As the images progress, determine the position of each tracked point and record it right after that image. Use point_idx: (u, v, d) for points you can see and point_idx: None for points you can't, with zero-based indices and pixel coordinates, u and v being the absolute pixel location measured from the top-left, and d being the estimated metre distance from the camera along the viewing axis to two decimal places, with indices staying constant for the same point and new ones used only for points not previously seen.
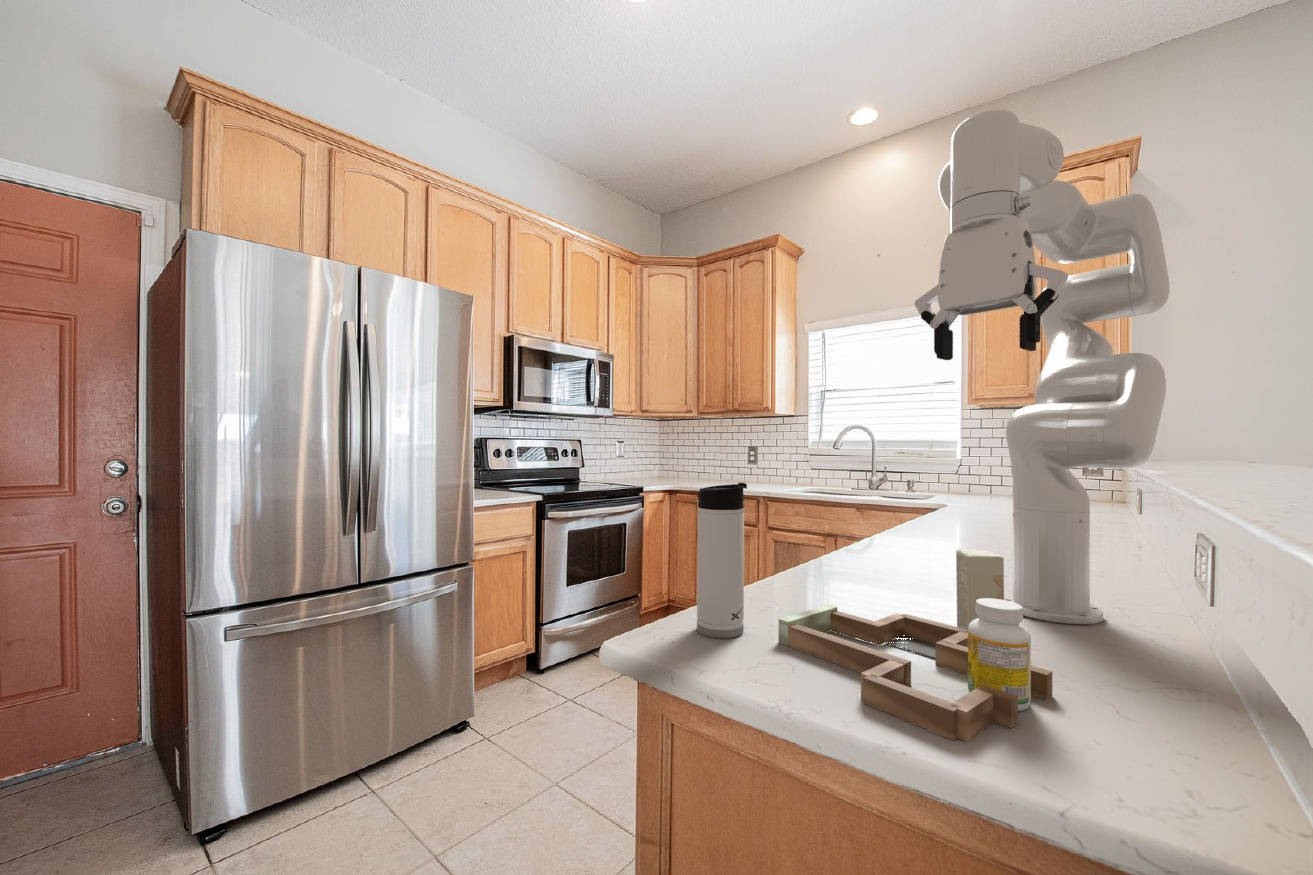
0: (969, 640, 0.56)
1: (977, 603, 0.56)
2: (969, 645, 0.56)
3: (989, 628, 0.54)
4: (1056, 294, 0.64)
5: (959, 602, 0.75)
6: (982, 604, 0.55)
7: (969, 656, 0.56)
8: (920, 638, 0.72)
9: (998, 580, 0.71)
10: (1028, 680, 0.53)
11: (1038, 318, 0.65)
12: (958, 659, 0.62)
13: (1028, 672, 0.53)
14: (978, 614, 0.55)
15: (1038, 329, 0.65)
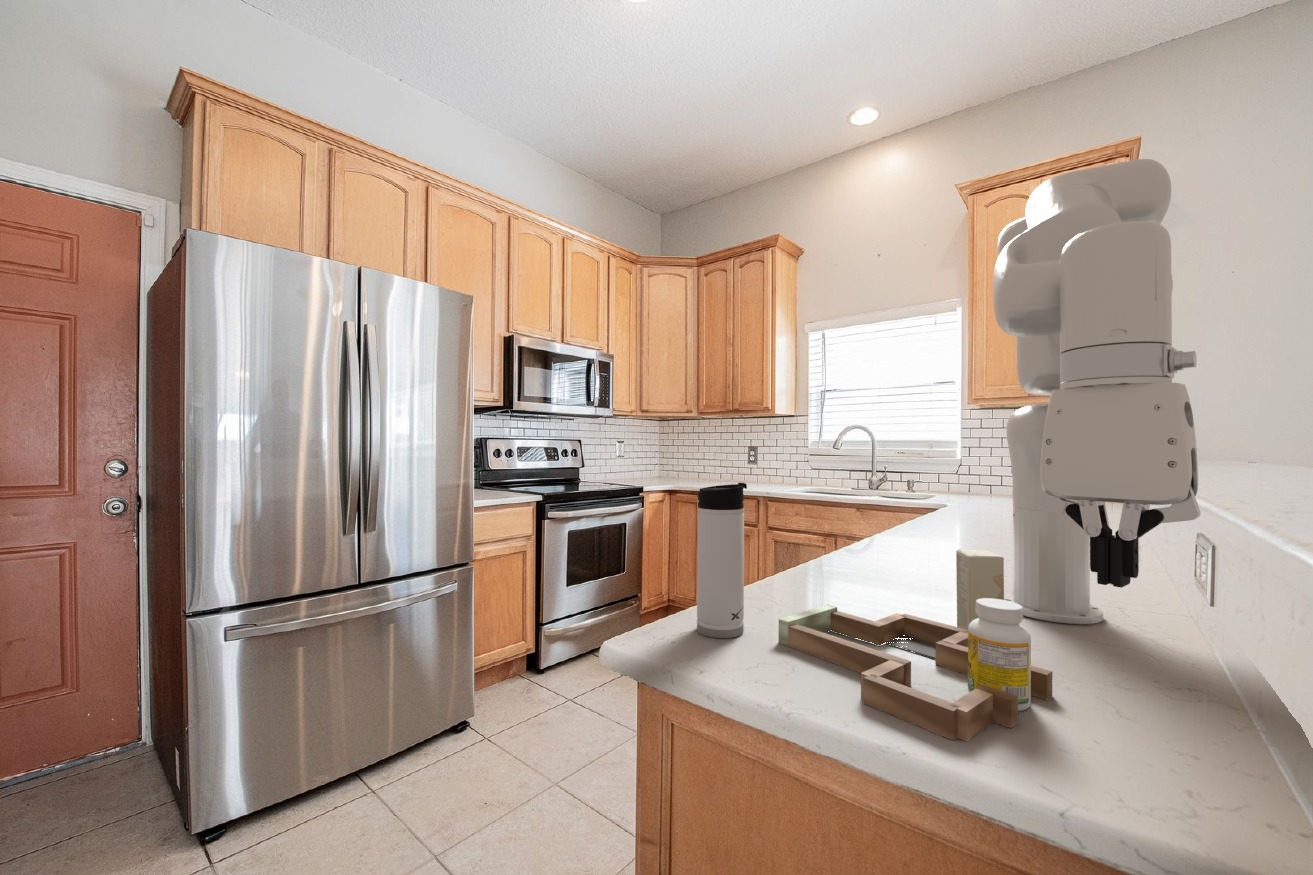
0: (969, 640, 0.56)
1: (977, 603, 0.56)
2: (969, 645, 0.56)
3: (990, 628, 0.54)
4: (1160, 523, 0.46)
5: (959, 602, 0.75)
6: (982, 604, 0.55)
7: (969, 656, 0.56)
8: (920, 638, 0.72)
9: (998, 580, 0.71)
10: (1028, 680, 0.53)
11: (1136, 543, 0.47)
12: (958, 659, 0.62)
13: (1028, 672, 0.53)
14: (978, 614, 0.55)
15: (1136, 559, 0.47)
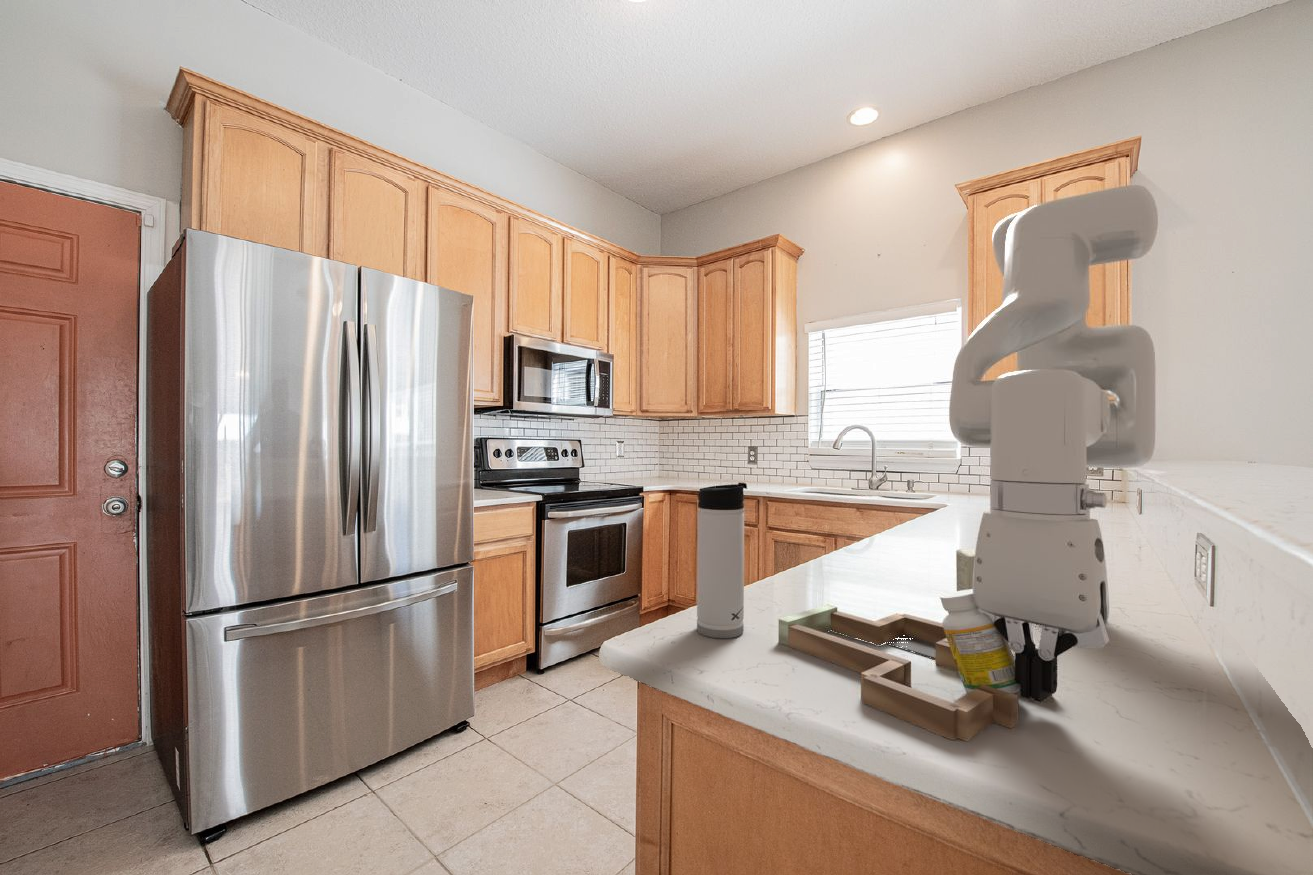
0: (947, 637, 0.57)
1: (941, 598, 0.58)
2: (948, 642, 0.57)
3: (958, 617, 0.56)
4: None
5: None
6: (944, 597, 0.57)
7: (952, 653, 0.57)
8: (920, 638, 0.72)
9: None
10: (1011, 659, 0.54)
11: (1055, 661, 0.51)
12: None
13: (1007, 651, 0.54)
14: (945, 608, 0.58)
15: (1055, 676, 0.51)
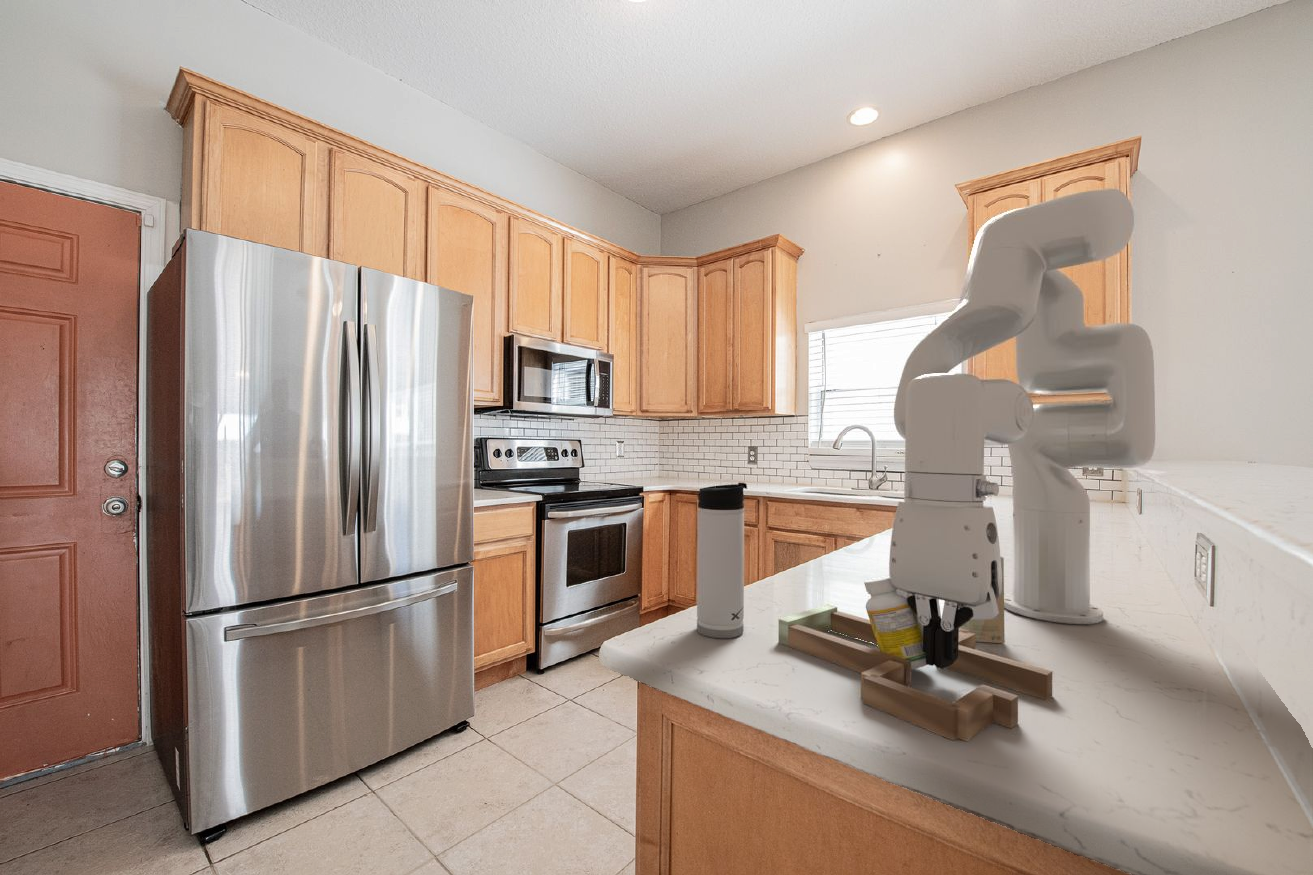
0: (869, 617, 0.64)
1: (864, 582, 0.64)
2: (870, 621, 0.64)
3: (877, 599, 0.62)
4: None
5: None
6: (867, 582, 0.64)
7: (873, 631, 0.63)
8: None
9: None
10: (922, 636, 0.60)
11: (956, 632, 0.58)
12: (958, 659, 0.62)
13: (919, 629, 0.61)
14: None
15: (955, 645, 0.58)
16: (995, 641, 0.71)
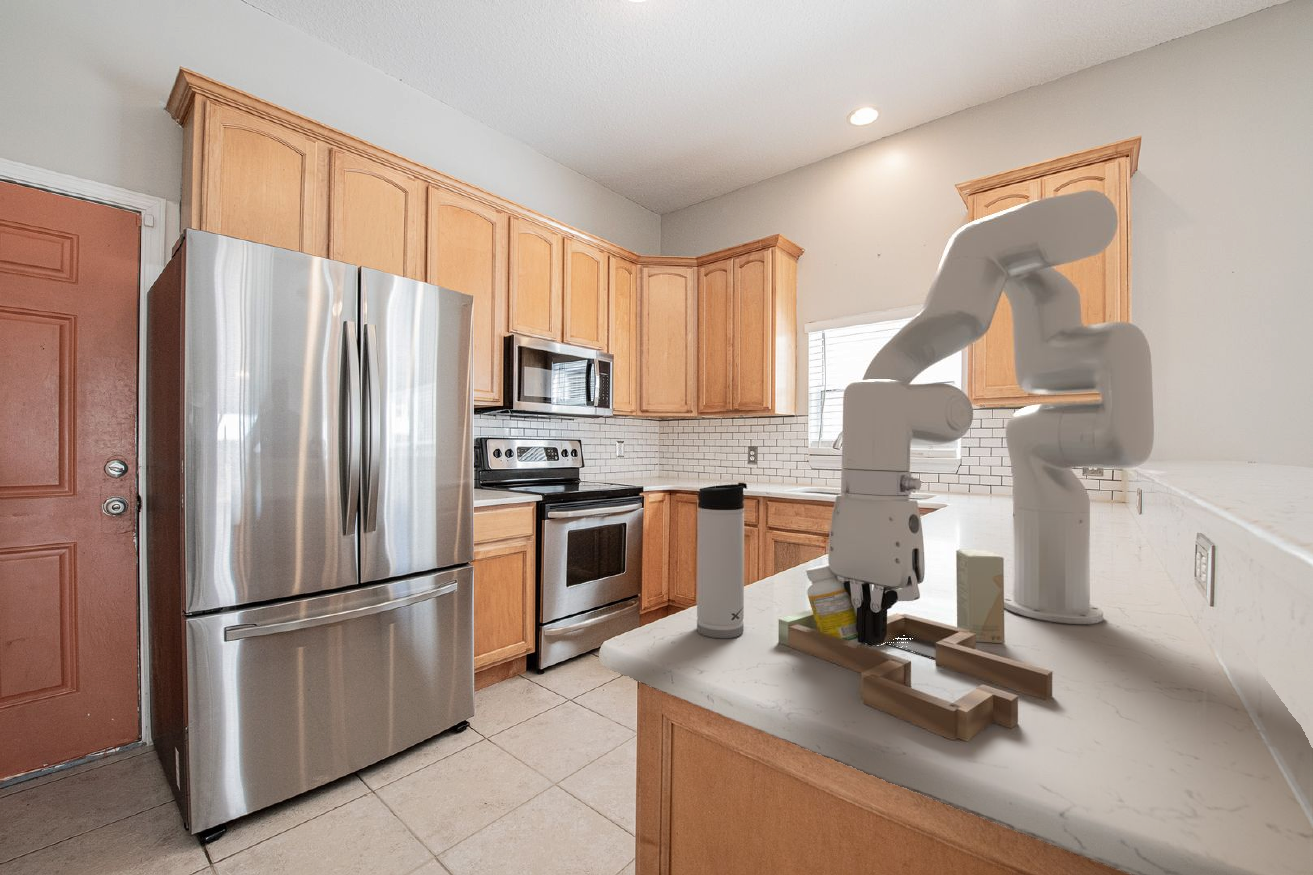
0: (810, 602, 0.69)
1: (806, 571, 0.70)
2: (811, 606, 0.69)
3: (817, 585, 0.68)
4: None
5: (959, 602, 0.75)
6: (809, 570, 0.69)
7: None
8: (920, 638, 0.72)
9: (998, 580, 0.71)
10: None
11: (884, 613, 0.64)
12: (958, 659, 0.62)
13: (854, 611, 0.67)
14: (809, 579, 0.70)
15: (884, 625, 0.64)
16: (995, 641, 0.71)
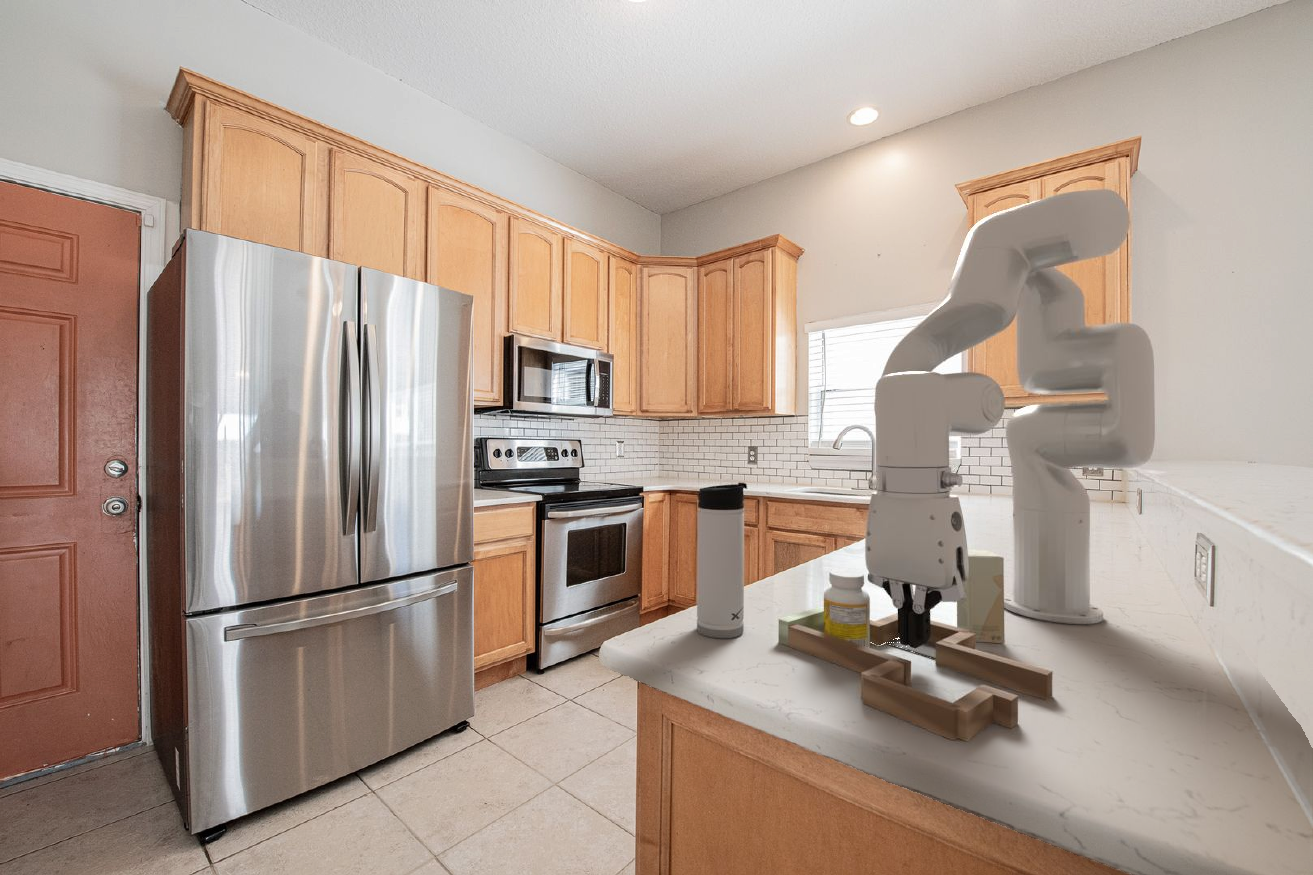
0: (824, 604, 0.68)
1: (830, 573, 0.68)
2: (824, 608, 0.68)
3: (838, 593, 0.66)
4: None
5: (959, 602, 0.75)
6: (833, 574, 0.67)
7: (824, 617, 0.68)
8: None
9: (998, 580, 0.71)
10: (867, 633, 0.66)
11: (928, 614, 0.62)
12: (958, 659, 0.62)
13: (867, 626, 0.66)
14: (830, 582, 0.68)
15: (927, 626, 0.62)
16: (995, 641, 0.71)
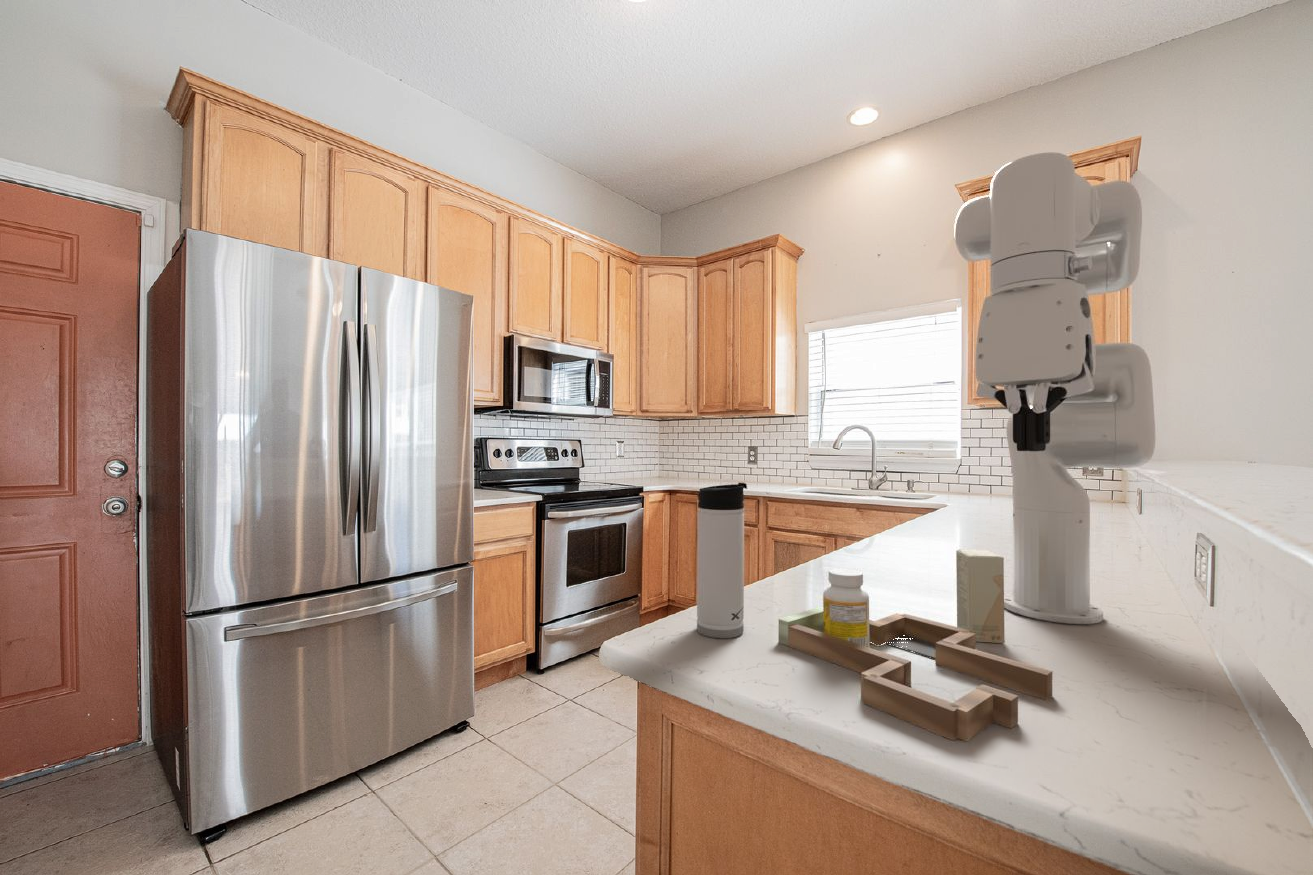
0: (824, 603, 0.68)
1: (829, 572, 0.68)
2: (824, 607, 0.68)
3: (838, 591, 0.67)
4: (1064, 397, 0.57)
5: (959, 602, 0.75)
6: (833, 573, 0.68)
7: (824, 617, 0.68)
8: (920, 638, 0.72)
9: (998, 580, 0.71)
10: (867, 632, 0.66)
11: (1048, 416, 0.58)
12: (958, 659, 0.62)
13: (866, 625, 0.66)
14: (830, 581, 0.68)
15: (1047, 429, 0.58)
16: (995, 641, 0.71)
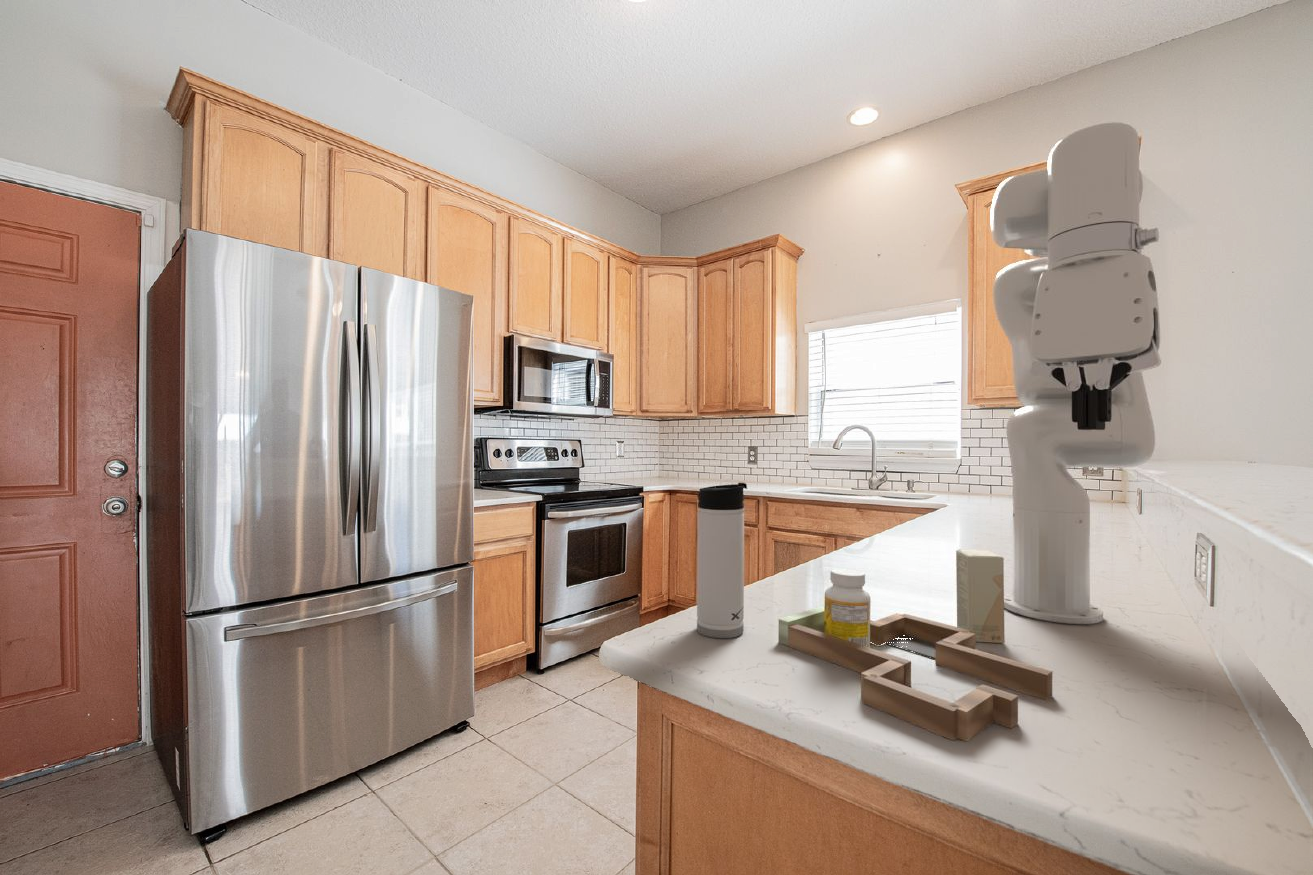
0: (825, 603, 0.68)
1: (831, 572, 0.68)
2: (825, 607, 0.68)
3: (840, 591, 0.67)
4: (1128, 373, 0.55)
5: (959, 602, 0.75)
6: (835, 573, 0.68)
7: (825, 616, 0.68)
8: (920, 638, 0.72)
9: (998, 580, 0.71)
10: (868, 632, 0.66)
11: (1110, 393, 0.57)
12: (958, 659, 0.62)
13: (868, 625, 0.66)
14: (832, 581, 0.68)
15: (1109, 407, 0.57)
16: (995, 641, 0.71)
